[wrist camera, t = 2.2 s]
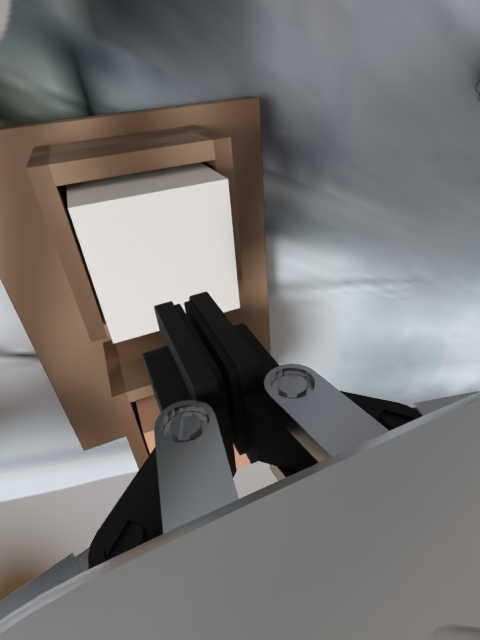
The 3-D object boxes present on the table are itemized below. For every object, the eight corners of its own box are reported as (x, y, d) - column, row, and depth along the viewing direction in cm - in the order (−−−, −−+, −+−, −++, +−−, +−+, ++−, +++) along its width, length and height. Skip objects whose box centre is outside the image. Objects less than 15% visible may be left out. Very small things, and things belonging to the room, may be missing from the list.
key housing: (248, 96, 22) (310, 102, 17) (264, 374, 35) (303, 430, 29) (-61, 134, 18) (-112, 158, 13) (83, 436, 30) (88, 515, 25)
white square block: (192, 157, 19) (227, 178, 15) (207, 267, 22) (240, 307, 18) (65, 178, 17) (67, 207, 13) (102, 293, 21) (113, 343, 17)
